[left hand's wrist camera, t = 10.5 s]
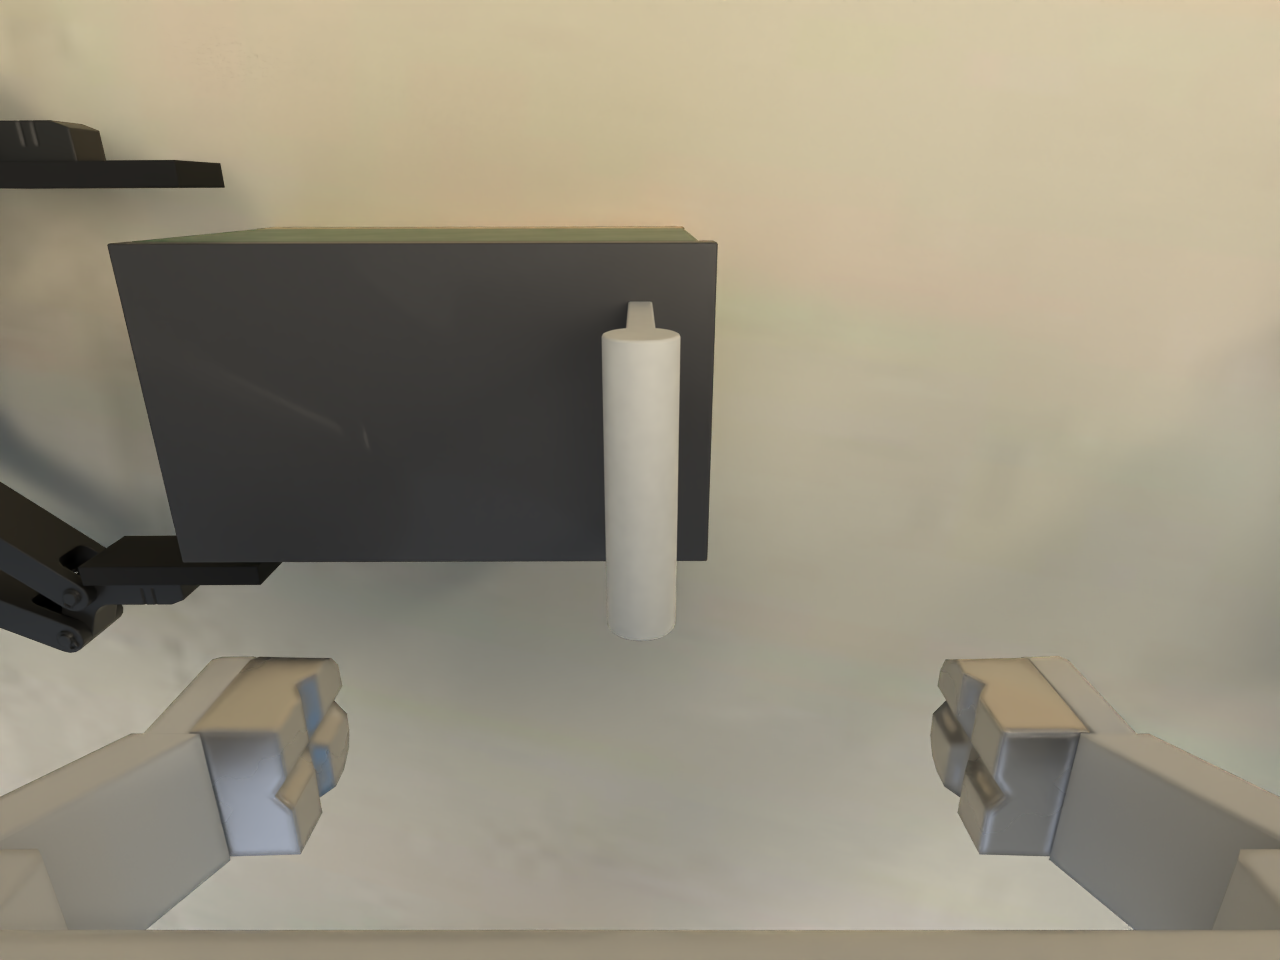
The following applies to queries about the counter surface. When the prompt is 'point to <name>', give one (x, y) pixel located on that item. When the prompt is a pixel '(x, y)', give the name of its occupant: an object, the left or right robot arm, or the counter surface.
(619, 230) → the chest
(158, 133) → the counter surface
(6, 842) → the left robot arm
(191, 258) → the lid
